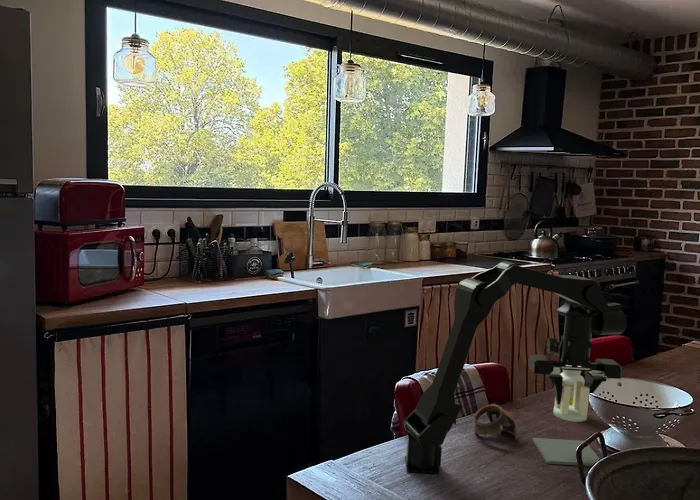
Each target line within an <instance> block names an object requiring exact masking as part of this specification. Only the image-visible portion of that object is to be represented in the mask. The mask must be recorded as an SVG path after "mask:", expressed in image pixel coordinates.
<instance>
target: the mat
mask: <svg viewBox="0 0 700 500" xmlns="http://www.w3.org/2000/svg"><path fill="white" fill-rule="evenodd" d="M584 441H585V440H576V439H558V438H543V437H542V438H541V437H532V442H533V443H534V445H535V446H536V448H537V450H538V451H539V453H540V455H541V456H542V457H543V460H544V461H545V462H546V464H549V465H551V464H552V465H564V466H565V465H567V466H568V465H569V466H578V465H577V459H576V448H577V446H578V445H580V444H581V443H582V442H584ZM599 459H600V457H599V456H598V455H597V453H596V452H595V451H594V450H593V449H592V448H591V446H590V445H589V444H588V446H587V447H585V448H584V449H583V450H582V461H583V465H585V467H593V466H592V465H593V464H594V463H595V462H597V461H598V460H599ZM600 460H601V459H600Z"/></svg>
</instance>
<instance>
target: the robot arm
mask: <svg viewBox="0 0 700 500" xmlns="http://www.w3.org/2000/svg"><path fill="white" fill-rule="evenodd" d="M515 284H518V285H523V286H526V287H530V288H533V289H539V290H542V291H547V292H551V293H553V294H555V295H556V296H559V297H560V298H562V299H564V300H566V301H569V302H573V303H575V304H577V305H579V306H577V305H576V306H573V305H572V303H568V302H565V303H564V304H563V305H561V306H560V307H558V308H557V309H556V312H557V313H558V314H561V315H563V316H564V324H563V325H564V327H563V335H561V337H560V338H561V339H560V342H559V341H558V338H555V337H554V338H552V337H551V338H550V337H548V338H547V339H546V353H551V354H552V353H553V354H554V355H553V356H554V358H555V359H556V358H557V359H558V360H552V359H551V358H550V357H549V355H545V354H531V355H530V356H529V358H528V364H527V366H528V367H529V369H530V370H531V371H532V373H534V374H537V375H545V376H546V377H547V378H548V379H549V380H550V382H551V385H552V389H553V390H552V391H553V393H554V399H555V398H556V402H557V404H560V402H561V394H562V381H563V377H562V376H561V375H560V374H561V370H562V371H563V370H574V371H581V372H584V381H585V382H584V386H587V387H588V388H590V390H589V393H593V394H594V393H595V391H596V390H597V389H598V388H599V386H600V385H601V384H602V383H603V382H607V378H608V379H622V378H623V367H622V366H621V365H620V364H619V363H618V362H616V361H615V360H614V359H612V358H611V359H610V358H596V359H595V361H594V362H591V361H590V357H591V349H593V348H594V347H593V346H594V343H593V342H592V336H593V334H595V335H621V334H623V333H624V332H625V331H626V329H627V327H628V326H627V325H628V321H627V317H626V315H625V313H624V311H623V310H622V309H623V307H622V306H623V305H622V304H620V303H616V302H610V303H607V301H606V299H605V297H604V295H603V293H602V291H601V290H602V289H601V285H600V283H599V282H598V281H597V280H594V279H590V278H586V277H582V276H578V275H569V274H561V275H557V274H551V273H547V272H543V271H540V270H536V269H531V268H528V267H525V266H521V265H519V264H517V263H514V262H510V261H505V260H504V261H501V262H499V263H497V264H496V265H495V266H493V267H491V268H488V269H486V270H484V271H481V272H479V273H477V274H475V275H474V276H473V277H468V278H465V279H463V280H461V281H460V282H459V283H458V285H457V287H456V289H455V290H456V291H455V295H454V300H453V307H454V309H453V311H454V320H453V324H452V327H451V330H450V332H449V335H448V338H447V341H446V344H445V347H444V349H443V352H442V356H441V359H440V360H439V364H438V367H437V369H436V373H435V375H434V378H433V381H432V383H431V385H430V386H428V387H427V388H426V390H424V391H423V393H422V394H421V396H420V398H419V400H418V401H417V404H416V406H415V409H413V411H412V412H411V413H410V414H409V415H407V416H406V418H405V419H404V420H403V426H404V430H405V431H406V432H408V433H407V439H406V455H405V456H404V461H405V462H404V463H405V469H406V472H408V473H418V474H419V473H421V474H437V475H438V474H439V473H440V470H439V468H440V467H442V465H441V464H442V453H443V451H442V450H443V448H442V445H443V444H444V441H445V439H446V437H447V434H448V433H449V432H450V431H451V429H452V427H453V425H455V426H456V425H457V418H458V415H459V413H460V411H461V408H462V405H461V404H460V403H458V402H457V401H456V390H457V386H458V384H459V382H460V378H461V375H462V373H463V369H464V367H465V364H466V361H467V359H468V355H469V352H470V349H471V347H472V344H473V340H474V339H475V336H476V332H477V329H478V327H479V326H480V325H481V324H482V322H484V321H485V320H486V319H487V318H488V317H489V316H490V313H491V312H492V310H493V308H494V306H495V303H496V302H497V301H499V300H500V299H501V298H503V297H504V296H505V295H506V294H508V292H509V291H510V289H511V287H513V286H514V285H515ZM585 307H586V308H588V309H586V308H585ZM592 333H593V334H592ZM566 365H568V366H566ZM578 366H581V367H578Z"/></svg>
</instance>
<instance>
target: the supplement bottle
mask: <svg viewBox="0 0 700 500" xmlns="http://www.w3.org/2000/svg"><path fill="white" fill-rule="evenodd" d="M566 366H568V365H566ZM578 367H582V366H578ZM581 373H582V371H574V370H562V372H560V375H561V376H562V377H563V380H564V381H565V385H569V386H570V387H571V392H570V402H569V405H573V395H574V384H575V380H578V381H582V382H583V386H584V383H585V377H584V376H582V375H581Z"/></svg>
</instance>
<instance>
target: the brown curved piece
mask: <svg viewBox="0 0 700 500" xmlns="http://www.w3.org/2000/svg"><path fill="white" fill-rule="evenodd" d="M484 414H486V416H487V418H488V420H489V422H487V423H482V422H480V421H479V419H480V417H481V416H483V415H484ZM473 417H474V418H475V419H474V421H473V422H474V423H473V431H474V435H475V436H477V435H478V434H479V435H484V436H487V435H492V434H498V435H501V434H502V432H501V431H503V432H509V433H512V434H513V435H514V440H515V441H517V440H518V436H517V428H516V423H515V421H514V418H513V416H512V415H511V413H509V412H508V411H507V410H505V409H503V407H502V406H500V405H499V404H497V403H495V402H494V403H493V402H492V403H490V404H488V405H485V406H483V407H480V408H479V409H478V410H477V411H476V413H475V414H474V416H473ZM501 426H502V430H501Z"/></svg>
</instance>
